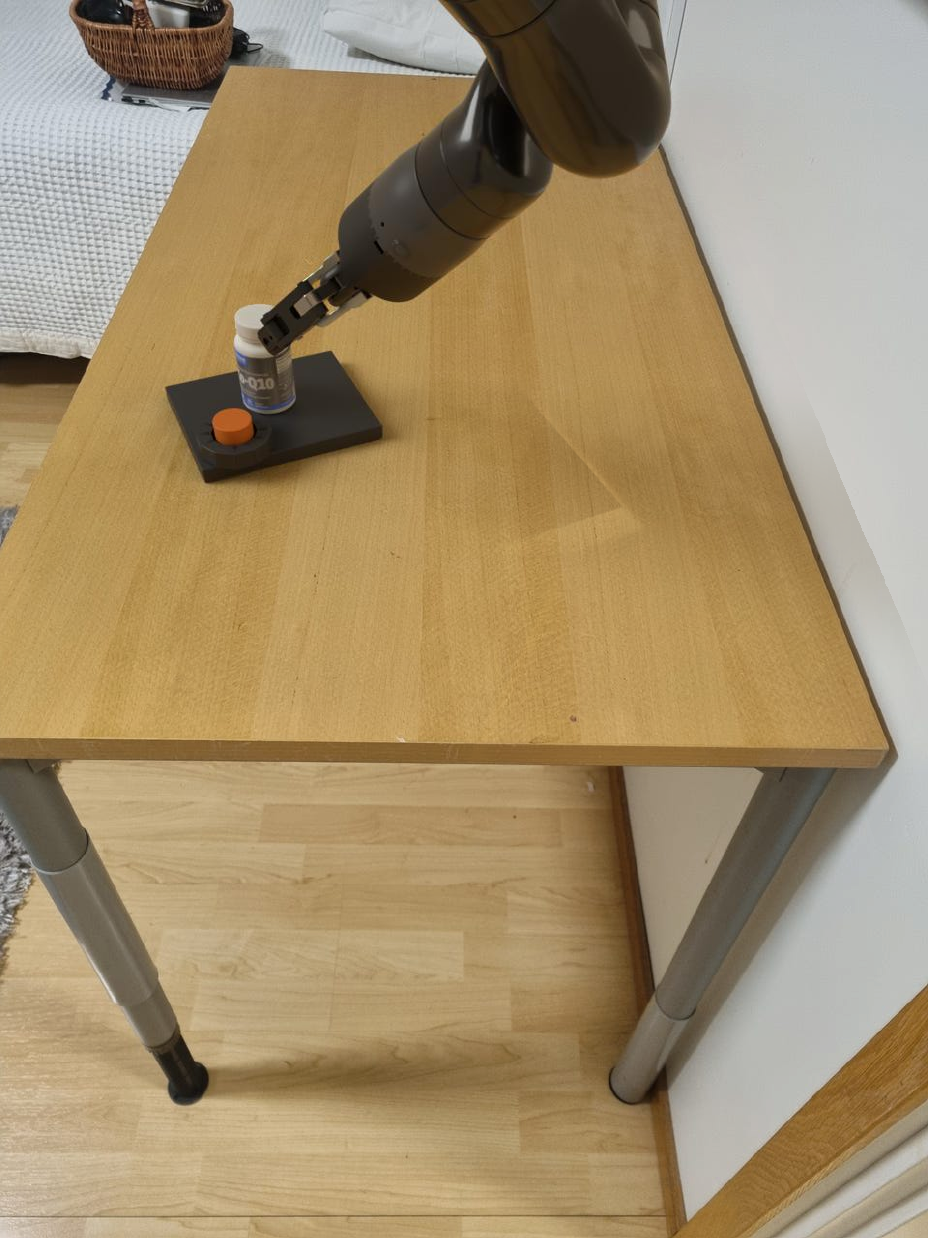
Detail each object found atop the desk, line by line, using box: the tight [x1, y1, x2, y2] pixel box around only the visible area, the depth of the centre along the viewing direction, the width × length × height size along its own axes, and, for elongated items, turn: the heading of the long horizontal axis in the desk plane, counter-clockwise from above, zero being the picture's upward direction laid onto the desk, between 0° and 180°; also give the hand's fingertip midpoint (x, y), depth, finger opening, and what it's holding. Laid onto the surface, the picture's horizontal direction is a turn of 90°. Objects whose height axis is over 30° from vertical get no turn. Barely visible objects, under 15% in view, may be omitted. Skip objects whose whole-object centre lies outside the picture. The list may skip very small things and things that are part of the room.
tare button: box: [212, 408, 254, 446], centre depth 78 cm, size 3×3×2 cm
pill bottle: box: [233, 303, 296, 414], centre depth 81 cm, size 5×5×8 cm
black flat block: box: [164, 350, 383, 484], centre depth 83 cm, size 16×14×3 cm
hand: (303, 320), depth 75 cm, fingers open, 8 cm apart
